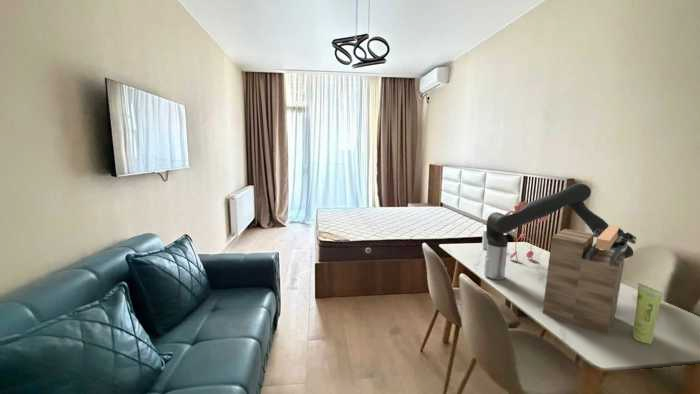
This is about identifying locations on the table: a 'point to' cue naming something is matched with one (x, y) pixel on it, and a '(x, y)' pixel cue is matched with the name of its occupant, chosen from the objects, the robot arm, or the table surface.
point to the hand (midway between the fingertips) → (612, 229)
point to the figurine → (518, 208)
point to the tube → (646, 313)
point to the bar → (607, 237)
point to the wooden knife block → (582, 281)
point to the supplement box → (484, 239)
